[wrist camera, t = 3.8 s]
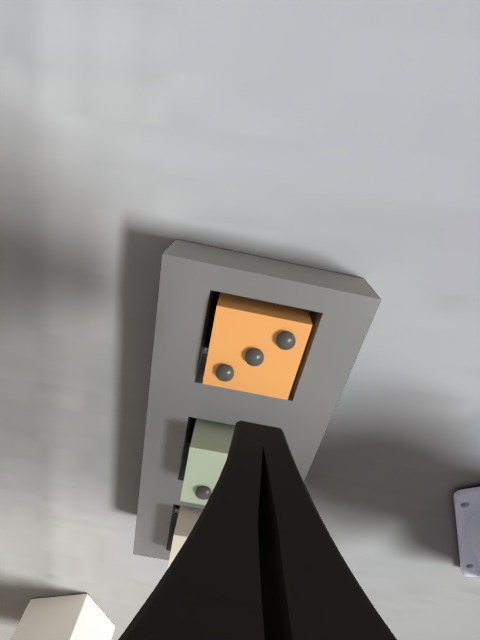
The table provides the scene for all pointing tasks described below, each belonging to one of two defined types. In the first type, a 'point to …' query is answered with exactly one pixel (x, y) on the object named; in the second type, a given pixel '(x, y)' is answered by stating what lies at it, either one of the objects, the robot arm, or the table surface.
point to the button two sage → (205, 459)
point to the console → (227, 404)
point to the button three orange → (256, 346)
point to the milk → (64, 620)
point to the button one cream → (183, 528)
